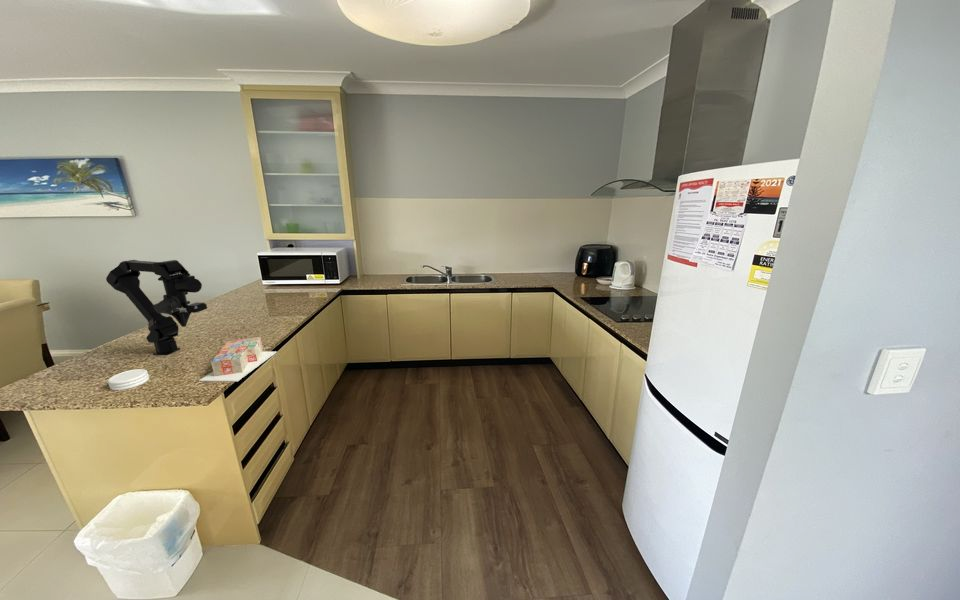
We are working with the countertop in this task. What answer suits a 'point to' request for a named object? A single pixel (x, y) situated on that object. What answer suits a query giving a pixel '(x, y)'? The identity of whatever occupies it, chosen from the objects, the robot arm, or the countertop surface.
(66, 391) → the countertop surface
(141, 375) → the white ridged disc
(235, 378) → the mat
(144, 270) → the robot arm
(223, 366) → the stack of blocks
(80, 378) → the countertop surface
